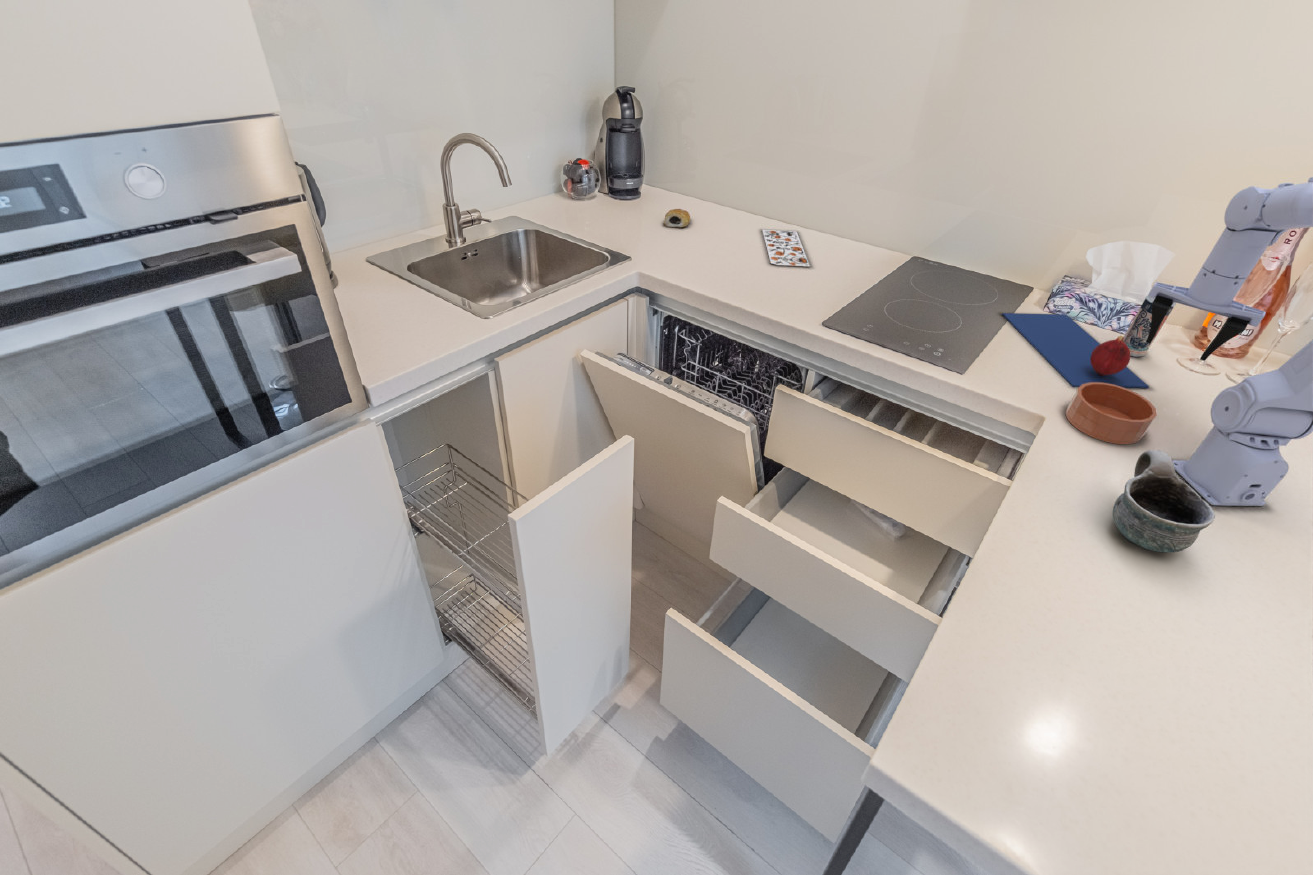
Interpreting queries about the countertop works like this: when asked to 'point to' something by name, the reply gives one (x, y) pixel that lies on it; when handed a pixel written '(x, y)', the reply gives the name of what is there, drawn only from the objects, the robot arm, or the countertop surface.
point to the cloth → (1068, 349)
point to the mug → (1160, 507)
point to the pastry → (677, 218)
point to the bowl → (1110, 413)
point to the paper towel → (785, 248)
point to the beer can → (1142, 329)
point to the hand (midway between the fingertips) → (1175, 349)
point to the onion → (1110, 357)
